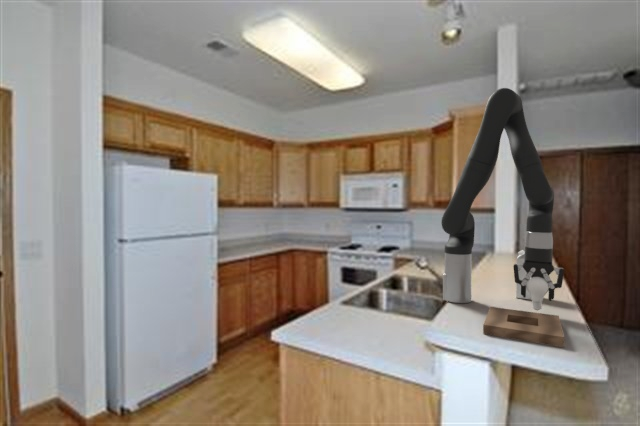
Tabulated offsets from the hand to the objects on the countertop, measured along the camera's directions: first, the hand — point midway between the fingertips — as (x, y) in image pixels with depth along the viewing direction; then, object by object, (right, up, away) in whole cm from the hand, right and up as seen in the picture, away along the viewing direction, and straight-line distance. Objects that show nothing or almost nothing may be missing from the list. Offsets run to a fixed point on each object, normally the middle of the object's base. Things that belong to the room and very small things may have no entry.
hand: (537, 298), depth 114 cm
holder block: (-12, -5, -14) cm, 19 cm away
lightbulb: (0, -4, 0) cm, 4 cm away
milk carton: (+9, -5, +21) cm, 24 cm away
